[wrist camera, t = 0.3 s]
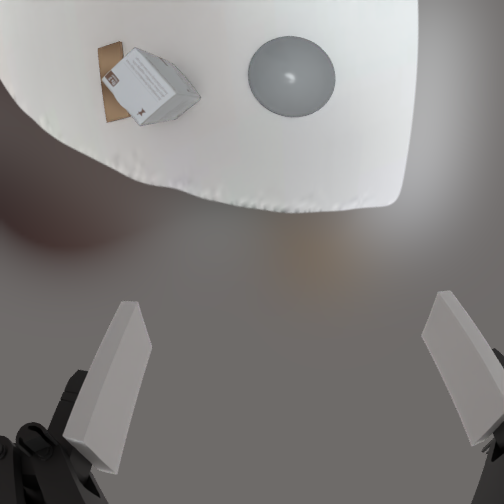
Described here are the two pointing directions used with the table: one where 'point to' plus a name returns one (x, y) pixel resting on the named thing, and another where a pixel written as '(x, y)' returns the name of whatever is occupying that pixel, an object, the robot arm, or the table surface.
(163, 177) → the table surface
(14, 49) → the table surface
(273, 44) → the coaster
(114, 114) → the walnut board
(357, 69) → the table surface
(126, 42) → the table surface
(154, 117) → the skincare box
